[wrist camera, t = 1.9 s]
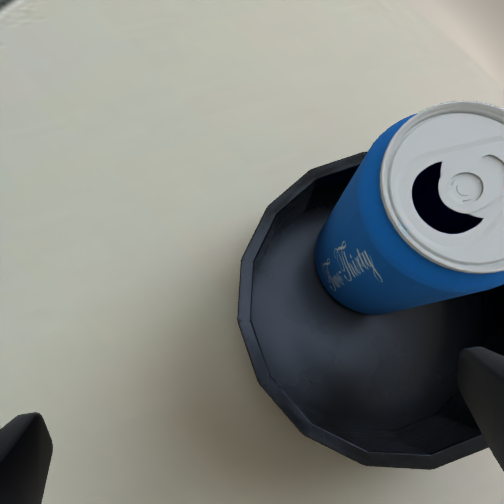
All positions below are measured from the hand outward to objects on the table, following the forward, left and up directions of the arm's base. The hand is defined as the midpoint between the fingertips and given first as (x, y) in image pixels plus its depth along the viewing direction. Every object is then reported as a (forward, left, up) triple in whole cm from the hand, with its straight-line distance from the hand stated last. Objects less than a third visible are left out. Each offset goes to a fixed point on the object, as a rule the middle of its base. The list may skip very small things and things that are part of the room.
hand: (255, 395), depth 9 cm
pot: (+3, -6, -15) cm, 17 cm away
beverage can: (+6, -6, -15) cm, 17 cm away
